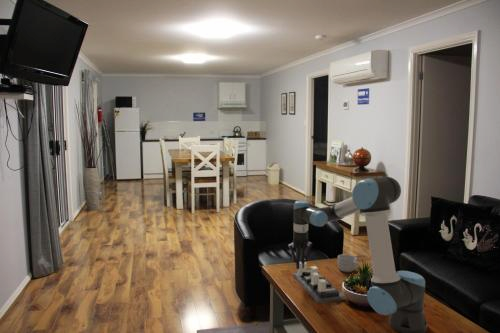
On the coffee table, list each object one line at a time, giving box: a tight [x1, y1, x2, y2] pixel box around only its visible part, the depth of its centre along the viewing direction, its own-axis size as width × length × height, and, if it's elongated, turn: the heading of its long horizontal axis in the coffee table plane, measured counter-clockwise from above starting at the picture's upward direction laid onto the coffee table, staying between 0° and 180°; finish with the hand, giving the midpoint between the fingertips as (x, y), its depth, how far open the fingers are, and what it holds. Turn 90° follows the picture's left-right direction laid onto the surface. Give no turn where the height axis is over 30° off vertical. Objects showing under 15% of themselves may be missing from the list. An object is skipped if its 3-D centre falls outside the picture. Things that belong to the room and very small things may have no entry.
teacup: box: [337, 253, 359, 273], centre depth 227 cm, size 14×11×8 cm
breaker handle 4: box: [318, 279, 326, 292], centre depth 194 cm, size 3×3×5 cm
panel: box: [293, 268, 345, 304], centre depth 207 cm, size 32×14×4 cm, turn 15°
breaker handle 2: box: [310, 265, 319, 276], centre depth 210 cm, size 3×3×5 cm
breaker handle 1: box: [302, 261, 308, 273], centre depth 217 cm, size 3×3×5 cm
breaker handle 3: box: [311, 273, 319, 285], centre depth 201 cm, size 3×3×5 cm
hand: (299, 274), depth 208 cm, fingers closed
